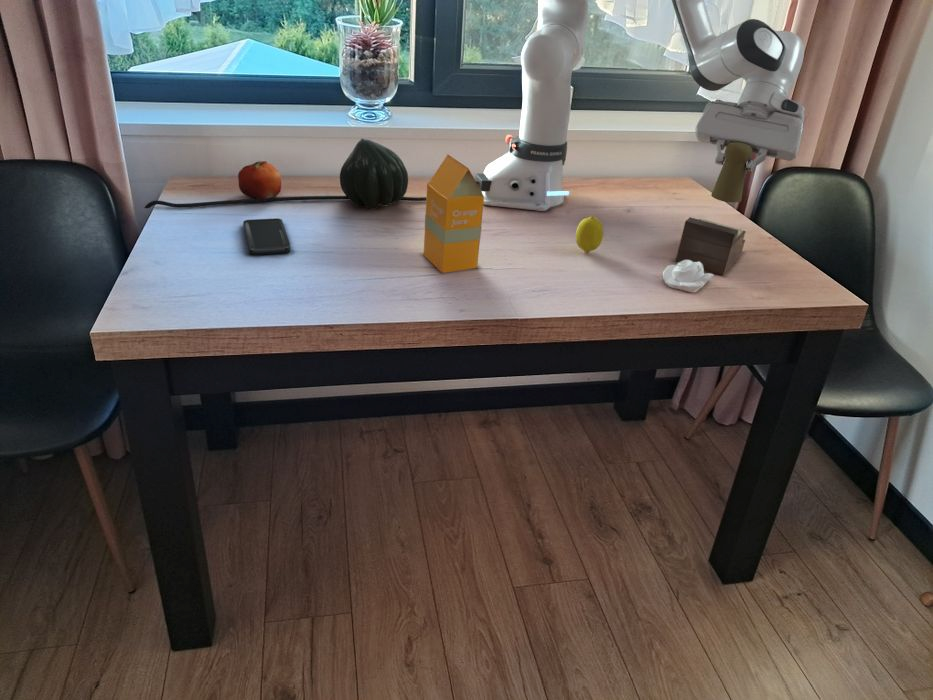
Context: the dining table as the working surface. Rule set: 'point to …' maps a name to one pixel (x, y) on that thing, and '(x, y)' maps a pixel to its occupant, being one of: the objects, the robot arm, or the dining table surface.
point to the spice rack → (710, 244)
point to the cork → (732, 173)
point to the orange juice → (453, 218)
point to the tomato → (259, 180)
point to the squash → (373, 175)
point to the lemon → (589, 234)
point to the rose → (686, 276)
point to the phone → (266, 236)
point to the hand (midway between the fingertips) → (734, 166)
